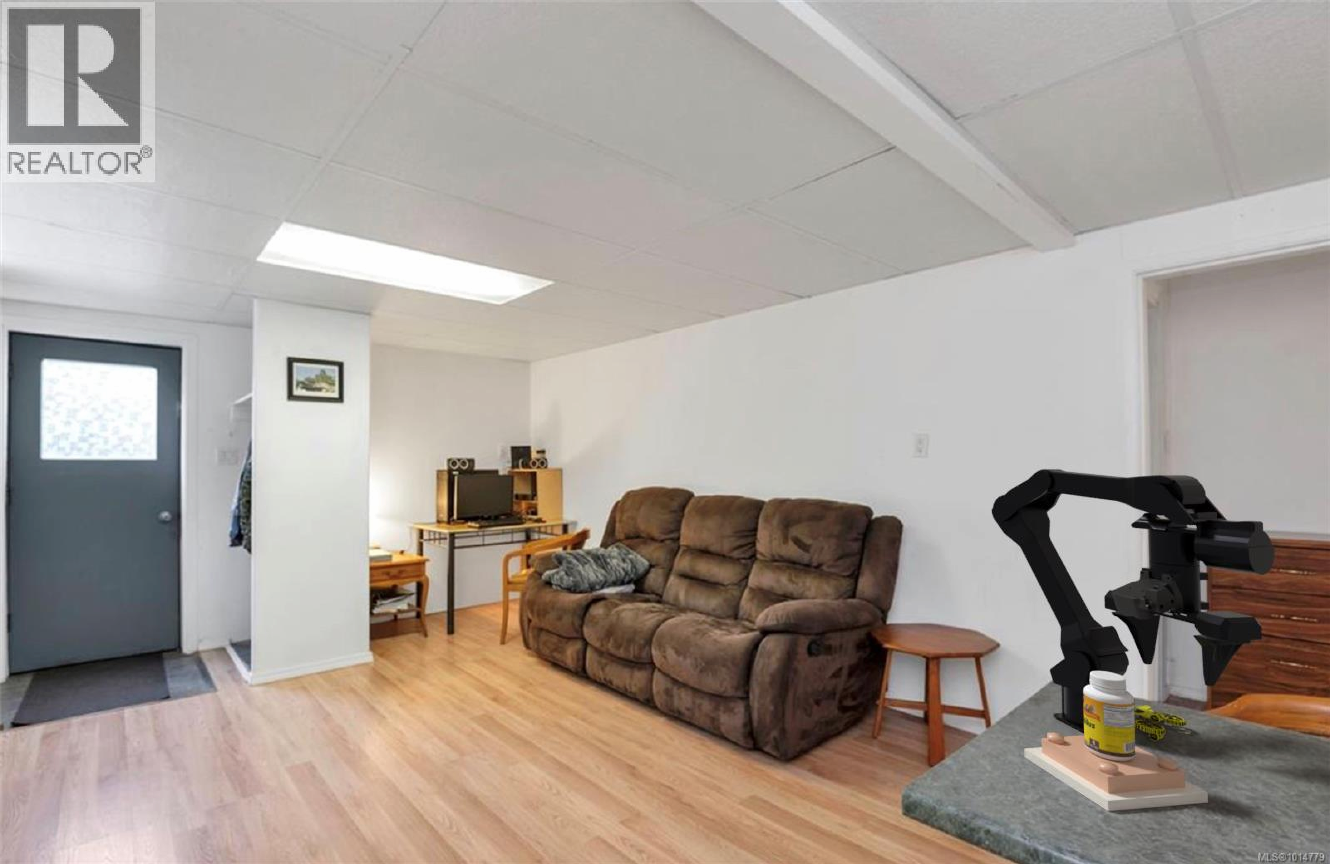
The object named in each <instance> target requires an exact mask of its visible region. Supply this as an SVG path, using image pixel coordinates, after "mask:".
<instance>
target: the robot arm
mask: <svg viewBox="0 0 1330 864" xmlns="http://www.w3.org/2000/svg"><path fill="white" fill-rule="evenodd" d="M1061 495H1070V496H1077V497H1082V498H1083V497H1084V498H1090V499H1091V498H1092V499H1099V500H1104V501H1105V500H1107V501H1114V502H1118V503H1121V504H1124V505H1126V506H1129V507H1131V508H1133V509H1135V510H1138V511H1141V512H1144V513H1143V514H1142V516H1140V517H1139V518H1138V519H1136V520H1135V521H1133V522H1131V524H1130V525H1131V528H1134V529H1141V530H1147V535H1148V536H1147V538H1148V539H1147V542H1148V546H1147V547H1148V567H1141V570H1139V571H1140V572H1139V580H1136V581H1131V582H1129V583H1126V584H1123V585H1121V586H1119V587H1117V588H1114V589H1109V590H1108V591H1107V592H1106V594H1105V595H1104V596H1103V597H1104V599H1103V601H1104V609H1107V610H1110V611H1111V615H1113V616H1114V617H1116V618H1118V619H1119V620H1120V621H1121V622H1123V624H1125V625H1126V626H1127V629H1128V630H1129V632H1130V634H1131V637H1132V639H1133V641H1134V642H1133V643H1135V646H1136V648H1137V651H1138V654H1139V655H1140V658H1141V661H1142V663H1143V664H1145V665H1152V664H1153V661H1154V657H1155V654H1156V653H1155V652H1156V648H1157V647H1156V646H1157V639H1158V634H1159V633H1158V632H1159V627H1160V620H1161V616H1162V617H1165V618H1170V619H1173V620H1177V621H1179V622H1180V621H1181V622H1184V623H1189V624H1192V625H1194V627H1193V628H1195V629H1196V631H1197V632H1198V633H1199V634H1194V635H1192V637H1193V638H1194V639H1195V640H1196V642H1198V644H1199V646H1200V647H1201V657H1202V675H1203V676H1202V677H1203V681H1204V685H1205V686H1207V687H1214V686H1215V685H1216V684H1217V682H1218V680H1219V679H1220V677H1221V675H1222V674H1223V672H1224V671H1225V669H1226V667H1227V666H1228V665H1229V663H1230V661H1231V660H1232V659H1233V658H1234V656H1235V655H1236V653H1237V652H1239V650H1240V649H1241V647H1242V646H1243V645H1248V644H1249V645H1250V644H1252V641H1254V640H1258V641H1259V640H1262V639H1263V634H1262V633H1263V632H1262V624H1261V622H1260V621H1259V620H1258V619H1257V618H1256V617H1255V616H1252V615H1247V614H1244V613H1238V612H1235V611H1230V610H1216V611H1215V610H1214V611H1213V610H1212V611H1210V602H1208V601H1204V600H1202V585H1201V584H1202V583H1201V581H1208V580H1209V572H1204V571H1201V562H1202V563H1203V564H1204V566H1206V567H1207V568H1210V569H1215V570H1222V571H1231V572H1237V573H1243V574H1244V573H1246V574H1252V575H1260V576H1263V575H1264V576H1265V575H1266V574H1267V573H1268V572H1269V571H1271V569H1272V567H1273V565H1274V561H1275V552H1276V551H1275V546H1274V545H1273V543H1272V541H1271V538H1270V536H1269V535H1268V533H1267V532H1266V531H1265V530H1264V523H1263V521H1259V520H1241V521H1239V520H1229V519H1227V518H1226V517H1225V516H1224V514H1223V513H1222V512H1221V511H1220V510H1219V509H1218V508H1217V506H1215V504H1214V503H1213V502H1212V501H1211V500H1210V499H1209V497H1207V495H1206V490H1205V487H1204V485H1203V484H1202V483H1201V482H1200V481H1199V480H1198V478H1196V477H1193V476H1191V475H1188V474H1187V475H1185V474H1181V475H1180V474H1179V475H1178V474H1174V475H1173V474H1170V475H1169V474H1168V475H1167V474H1166V475H1165V474H1160V475H1159V474H1157V475H1156V474H1155V475H1154V474H1153V475H1141V476H1129V477H1128V476H1127V477H1124V476H1116V475H1115V476H1114V475H1113V476H1112V475H1104V474H1096V473H1095V474H1094V473H1086V472H1085V473H1084V472H1076V471H1075V472H1074V471H1065V470H1063V469H1059V468H1056V469H1055V468H1054V469H1053V468H1051V469H1050V468H1044V469H1039V470H1037V471H1036V472H1034V473H1033V474H1032V475H1031V476H1030V477H1029V478H1028V479H1026V480H1024V481H1023V482H1021V483H1020V484H1017V485H1015V486H1014V487H1013V488H1010V489H1009V490H1008V491H1007V492H1006V493H1005V494H1002V495H1000V496H998V497H997V498H996V499H995V500H994V502H993V503H992V504H993V505H992V508H991V514H992V515H991V516H992V519H993V520H994V521H995V523H996V524H997V526H998V527H999V529H1000V530H1001V531H1002V533H1003V534H1004V535H1005V536H1006V537H1008V538H1009V539H1010V541H1013V543H1015V544H1016V545H1017V546H1018V547H1019V548H1020V549H1021V552H1022V553H1023V555H1024V557H1025V560H1026V561H1027V563H1028V566H1029V568H1030V569H1031V571H1032V573H1033V575H1034V577H1035V579H1036V581H1037V583H1038V586H1039V587H1040V589H1041V592H1042V593H1043V595H1044V597H1045V599H1046V601H1047V603H1048V604H1049V607H1050V609H1051V610H1052V612H1053V615H1054V616H1055V618H1056V620H1057V623H1058V624H1059V627H1060V638H1059V639H1060V640H1059V641H1060V642H1059V643H1060V644H1059V647H1060V650H1061V653H1062V656H1063V659H1062V660H1060V661H1059V662H1058V663H1056V664H1055V665H1054V666H1052V667H1051V668H1050V669H1049V673H1050V677H1051V679H1052V680H1051V681H1052V682H1053V684H1055V685H1058V686H1061V712H1055V713H1054V712H1053V718H1056V719H1058V720H1059V721H1061V722H1062V723H1065V724H1067V725H1069V726H1070V727H1073V728H1074V729H1076V730H1078V731H1080V732H1081V733H1084V701H1083V689H1084V687H1085V686H1087V685H1090V672H1092V671H1106V672H1112V673H1116V674H1119V675H1121V676H1123V677H1124V675H1125V674H1126V672H1127V671H1128V667H1129V666H1130V661H1129V658H1128V655H1127V653H1128V652H1129V651H1130V650H1129V649H1128V648H1127V647H1126V646H1125V645H1124V643H1123V642H1122V641H1121V638H1120V636H1119V635H1120V634H1119V633H1118V631H1117V629H1116V628H1115V627H1114V626H1113V625H1107V626H1103V625H1102V624H1101V623H1099V622H1098V621H1097V620H1096V619H1095V618H1094V617H1093V616H1092V614H1091V612H1090V610H1089V608H1088V606H1087V605H1086V602H1085V601H1084V598H1083V597H1082V596H1081V594H1080V591H1079V590H1078V588H1077V586H1076V584H1075V582H1074V580H1073V578H1072V576H1071V575H1070V572H1069V571H1068V570H1067V567H1066V565H1065V564H1064V561H1063V560H1062V558H1061V556H1060V555H1059V553H1058V551H1057V549H1056V547H1055V545H1054V543H1053V541H1052V539H1051V535H1050V532H1051V528H1050V527H1051V520H1050V517H1049V514H1048V512H1049V511H1051V510H1052V509H1053V508H1054V507H1055V506H1056V504H1057V503H1058V501H1059V499H1060V497H1061ZM1159 516H1163V517H1165V518H1161V517H1159ZM1189 526H1195V527H1196V528H1195V527H1189Z"/></svg>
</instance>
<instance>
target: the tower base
mask: <svg viewBox="0 0 1330 864" xmlns="http://www.w3.org/2000/svg"><path fill="white" fill-rule="evenodd" d="M1046 736H1047V737H1041V746H1039V747H1030V748H1029V747H1027V748H1025V747H1024V758H1025V759H1027V760H1029V761H1030V762H1031V763H1033V764H1034V765H1036V766H1037V767H1039V768H1040V769H1042V770H1044V771H1045V772H1047V773H1049V774H1050V775H1051V776H1053V777H1055V778H1056V779H1057V780H1059V781H1061V782H1062V783H1064V784H1065V785H1067V786H1068V787H1070V788H1071V789H1073V790H1074V791H1076V792H1077V793H1080V794H1081V795H1083V796H1084V797H1086V798H1087V799H1088V800H1090V801H1092V802H1093V803H1095V804H1097V805H1098V806H1099V807H1101V808H1102V809H1105V810H1106V811H1107V812H1113V811H1125V810H1136V809H1138V810H1139V809H1148V808H1160V807H1173V806H1182V805H1194V804H1208V803H1209V795H1208V794H1209V793H1208V792H1207V791H1205V790H1204V789H1202V788H1200V787H1197V786H1196V785H1194V784H1192V783H1190V782H1188V781H1186V770H1184V769H1182V768H1180V767H1179V764H1178V763H1179V762H1178V761H1176V760H1175V759H1174V758H1170V757H1168V756H1167V757H1166V756H1156V755H1155V754H1152V753H1151V752H1149V751H1146V750H1144V749H1142V748H1140V747H1138V746H1136V745H1135V757H1134V758H1133V759H1132V760H1129V761H1114V760H1109V759H1105V758H1102V757H1099V756H1097V755H1095V754H1093V753H1091V752H1090V751H1089V750H1088V749H1087V748H1086V746H1085V742H1084V734H1083V735H1070V736H1069V735H1068V736H1064V735H1063V734H1061V733H1058V732H1053V731H1051V732H1049V731H1048V732H1047V734H1046Z"/></svg>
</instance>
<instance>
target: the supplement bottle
mask: <svg viewBox="0 0 1330 864" xmlns="http://www.w3.org/2000/svg"><path fill="white" fill-rule="evenodd" d="M1134 699H1135V698H1134V696H1133V694H1131V692H1129V691H1128V690H1127V678H1126V677H1125V676H1124V675H1123V676H1121V675H1119V674H1116V673H1112V672H1106V671H1092V672H1090V685H1087V686H1085V687H1084V689H1083V701H1084V732H1083V735H1084V742H1085V746H1086V748H1087V749H1088V750H1089V751H1090V752H1091V753H1093V754H1095V755H1097V756H1099V757H1102V758H1105V759H1109V760H1114V761H1129V760H1132V759H1133V758H1134V757H1135V746H1136V727H1135V719H1134V704H1135V701H1134Z"/></svg>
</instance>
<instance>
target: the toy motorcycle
mask: <svg viewBox="0 0 1330 864" xmlns="http://www.w3.org/2000/svg"><path fill="white" fill-rule="evenodd" d="M1134 702H1135V698H1134ZM1135 705H1136V704H1135V703H1134V719H1135V728H1136V729H1138V730H1140V731H1143V732H1146V733H1149V734H1148V737H1149V739H1150V740H1151V741H1153V742H1157V741H1159V740H1161V739H1163V738H1164V737H1165V735H1166V732H1167V731H1166V728H1165V726H1164V724H1169V725H1173V726H1177V727H1186V726H1187V720H1186V719H1185V718H1183V717H1180V716H1178V715H1175V714H1173V713H1169V712H1163V711H1156V710H1152V707H1151V706H1148V705H1140V706H1139V705H1138V706H1135Z"/></svg>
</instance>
